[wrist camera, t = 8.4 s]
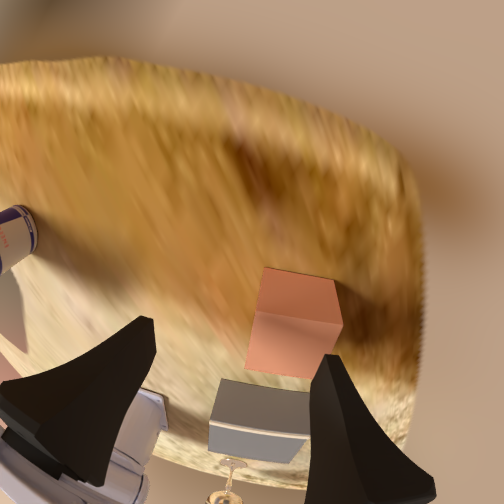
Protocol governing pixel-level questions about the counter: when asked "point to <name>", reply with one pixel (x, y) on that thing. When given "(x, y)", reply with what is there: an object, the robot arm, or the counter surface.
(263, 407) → the block
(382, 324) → the counter surface
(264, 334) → the salmon pink cube
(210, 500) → the wineglass
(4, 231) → the energy drink
